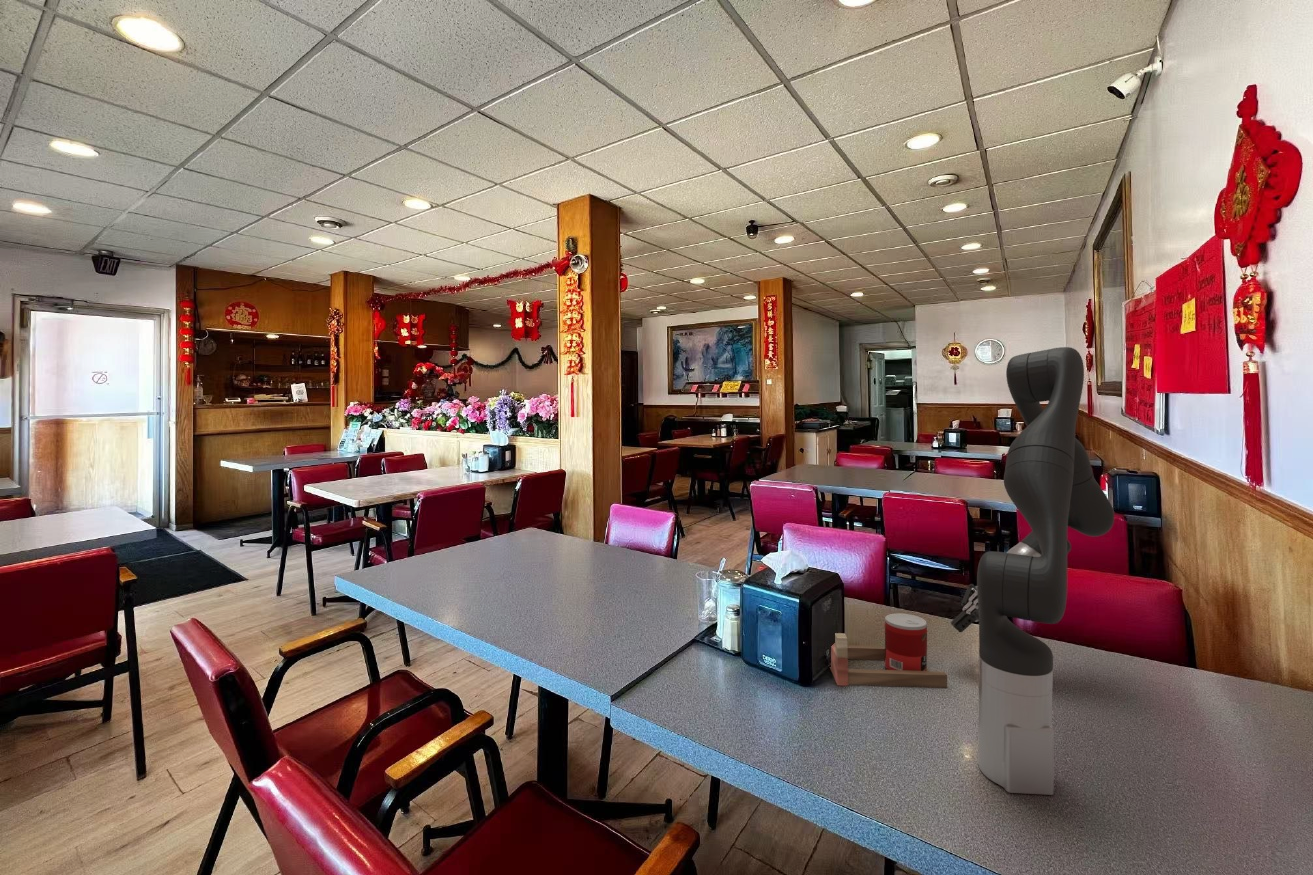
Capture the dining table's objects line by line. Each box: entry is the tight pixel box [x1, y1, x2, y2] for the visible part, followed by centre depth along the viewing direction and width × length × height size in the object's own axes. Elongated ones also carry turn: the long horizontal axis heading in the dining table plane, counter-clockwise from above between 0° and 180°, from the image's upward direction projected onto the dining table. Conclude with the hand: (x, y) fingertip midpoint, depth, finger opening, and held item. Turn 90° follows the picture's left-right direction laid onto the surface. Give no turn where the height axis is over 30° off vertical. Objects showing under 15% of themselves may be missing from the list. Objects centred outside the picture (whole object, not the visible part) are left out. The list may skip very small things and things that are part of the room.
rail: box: [829, 632, 948, 689], centre depth 117 cm, size 14×21×10 cm, turn 84°
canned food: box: [884, 612, 928, 671], centre depth 116 cm, size 8×8×11 cm
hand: (955, 628), depth 115 cm, fingers closed
